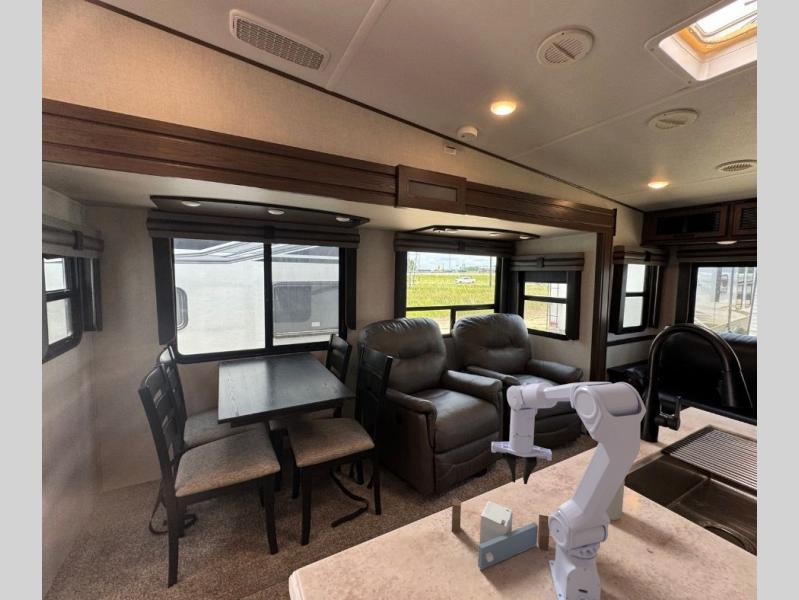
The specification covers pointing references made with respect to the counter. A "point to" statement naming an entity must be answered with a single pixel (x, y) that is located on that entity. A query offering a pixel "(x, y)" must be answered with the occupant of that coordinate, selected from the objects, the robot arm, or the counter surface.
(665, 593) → the counter surface
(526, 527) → the door leaf
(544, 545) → the door frame
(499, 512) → the skincare box
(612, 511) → the can
